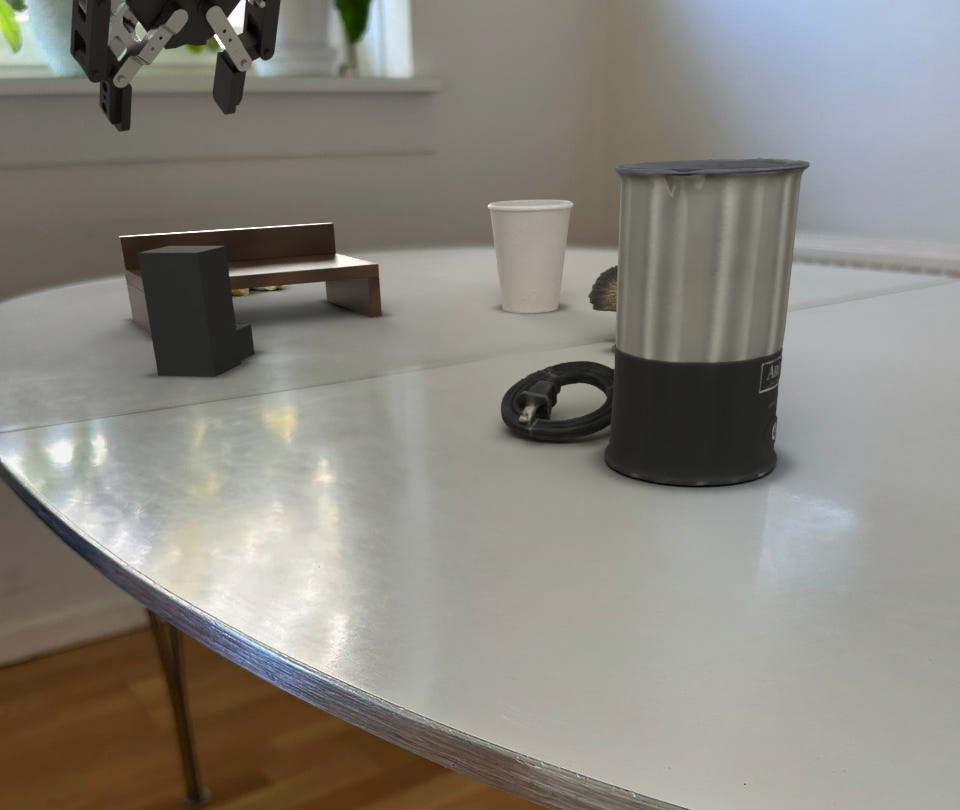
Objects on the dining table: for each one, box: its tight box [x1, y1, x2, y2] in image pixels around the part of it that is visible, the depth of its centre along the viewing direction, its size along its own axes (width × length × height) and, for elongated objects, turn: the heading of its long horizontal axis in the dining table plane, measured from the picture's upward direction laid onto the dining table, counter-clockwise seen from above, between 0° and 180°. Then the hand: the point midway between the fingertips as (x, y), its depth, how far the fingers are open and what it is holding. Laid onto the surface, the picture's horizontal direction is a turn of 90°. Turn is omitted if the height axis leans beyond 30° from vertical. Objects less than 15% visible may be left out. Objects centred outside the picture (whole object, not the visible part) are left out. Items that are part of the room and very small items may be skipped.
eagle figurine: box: [587, 264, 618, 353], centre depth 82 cm, size 8×7×9 cm
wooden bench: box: [118, 222, 383, 334], centre depth 99 cm, size 22×13×8 cm, turn 117°
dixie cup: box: [487, 199, 574, 314], centre depth 99 cm, size 8×8×10 cm
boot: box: [138, 246, 256, 378], centre depth 78 cm, size 9×5×9 cm, turn 168°
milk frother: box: [500, 157, 811, 487], centre depth 53 cm, size 14×16×15 cm
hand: (171, 115), depth 73 cm, fingers open, 8 cm apart
